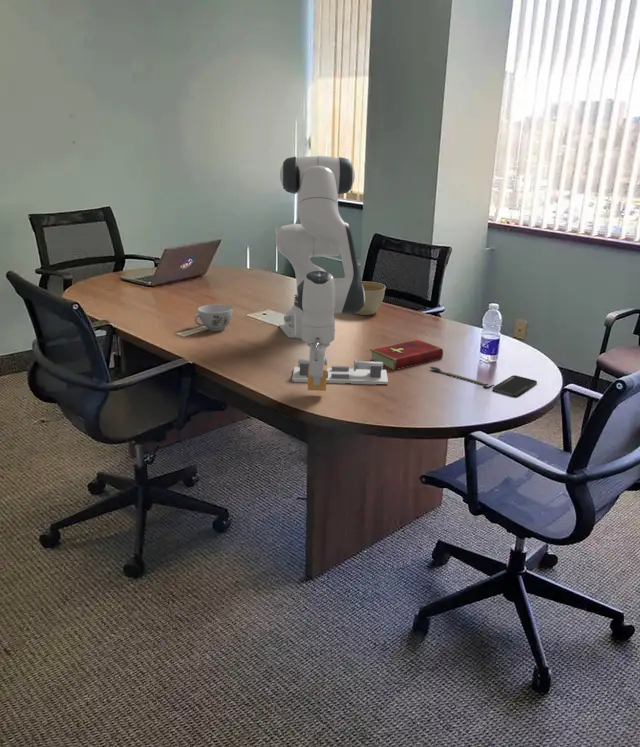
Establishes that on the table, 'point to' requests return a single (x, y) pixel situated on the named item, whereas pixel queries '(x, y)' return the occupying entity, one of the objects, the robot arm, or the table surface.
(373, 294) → the planter bowl
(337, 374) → the shaft rig
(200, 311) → the teacup
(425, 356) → the hardcover book
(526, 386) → the phone
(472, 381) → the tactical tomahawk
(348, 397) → the table surface
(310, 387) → the block
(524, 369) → the table surface
